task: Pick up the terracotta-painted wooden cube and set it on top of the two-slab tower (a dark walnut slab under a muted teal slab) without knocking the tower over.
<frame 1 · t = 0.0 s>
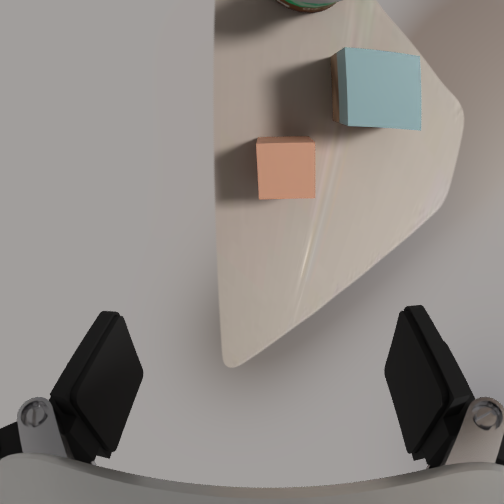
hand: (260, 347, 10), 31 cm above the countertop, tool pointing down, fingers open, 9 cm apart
tower top block: (373, 89, 30), point 4 cm above the countertop, touching tower base block
tower base block: (363, 90, 34), on the countertop, touching tower top block
terracotta cube: (284, 160, 38), on the countertop
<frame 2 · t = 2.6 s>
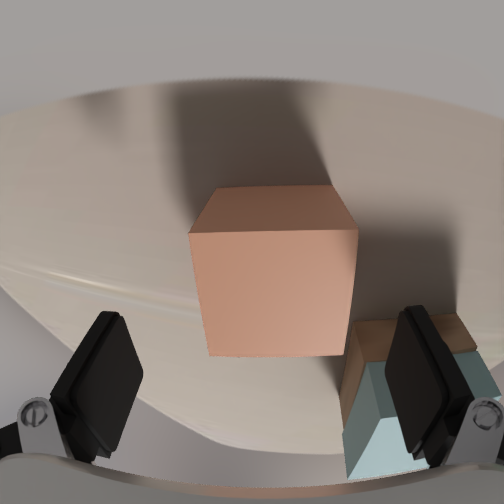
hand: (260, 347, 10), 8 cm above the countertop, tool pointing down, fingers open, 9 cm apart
tower top block: (408, 398, 18), point 4 cm above the countertop, touching tower base block
tower base block: (395, 356, 22), on the countertop, touching tower top block
terracotta cube: (276, 238, 18), on the countertop
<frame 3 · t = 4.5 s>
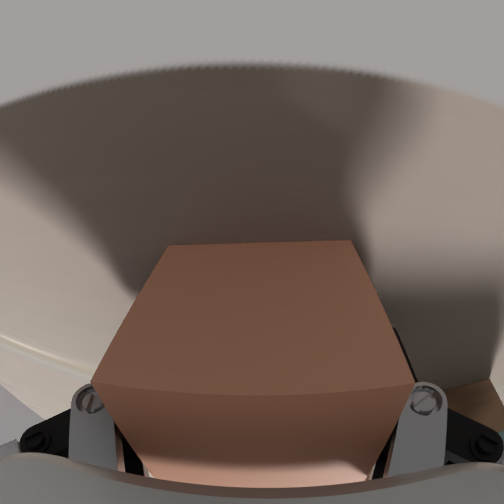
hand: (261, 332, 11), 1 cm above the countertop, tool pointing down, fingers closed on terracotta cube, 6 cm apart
tower base block: (411, 427, 16), on the countertop
terracotta cube: (262, 316, 12), on the countertop, touching gripper
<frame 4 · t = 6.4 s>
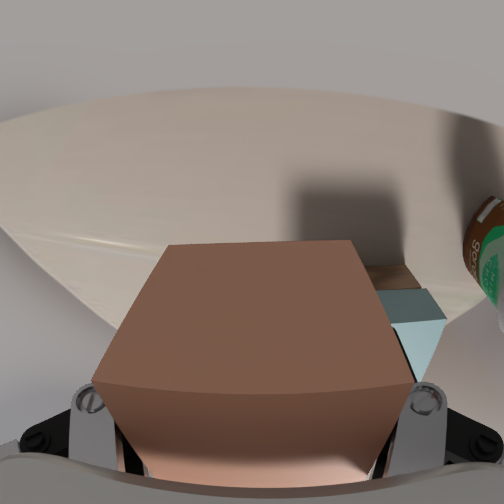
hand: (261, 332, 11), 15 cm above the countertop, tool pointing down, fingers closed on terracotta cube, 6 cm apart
tower top block: (372, 330, 25), point 4 cm above the countertop, touching tower base block
tower base block: (357, 302, 28), on the countertop, touching tower top block
food container: (477, 250, 25), on the countertop
terracotta cube: (262, 316, 12), point 14 cm above the countertop, touching gripper
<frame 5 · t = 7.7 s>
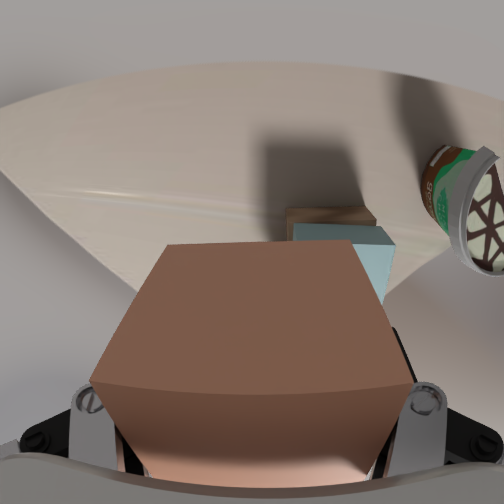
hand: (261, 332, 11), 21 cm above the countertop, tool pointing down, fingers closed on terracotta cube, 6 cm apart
tower top block: (333, 264, 29), point 4 cm above the countertop, touching tower base block
tower base block: (325, 242, 33), on the countertop, touching tower top block
food container: (436, 196, 30), on the countertop
terracotta cube: (261, 316, 12), point 20 cm above the countertop, touching gripper
when the fingers open (10 cm above the countertop, at t = 11.3 s): terracotta cube drops 1 cm, resting on tower top block.
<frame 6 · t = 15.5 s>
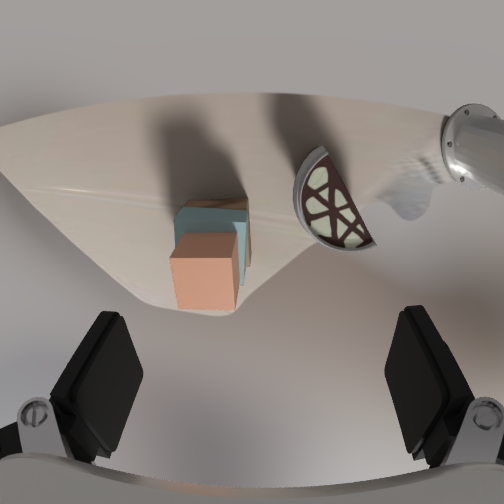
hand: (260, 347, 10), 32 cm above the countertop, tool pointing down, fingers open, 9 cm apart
tower top block: (214, 238, 40), point 4 cm above the countertop, touching terracotta cube, tower base block
tower base block: (220, 227, 44), on the countertop, touching tower top block
food container: (315, 188, 41), on the countertop
terracotta cube: (212, 256, 37), point 8 cm above the countertop, touching tower top block
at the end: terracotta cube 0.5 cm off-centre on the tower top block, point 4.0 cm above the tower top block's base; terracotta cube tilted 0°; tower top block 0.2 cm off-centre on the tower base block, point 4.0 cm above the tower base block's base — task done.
